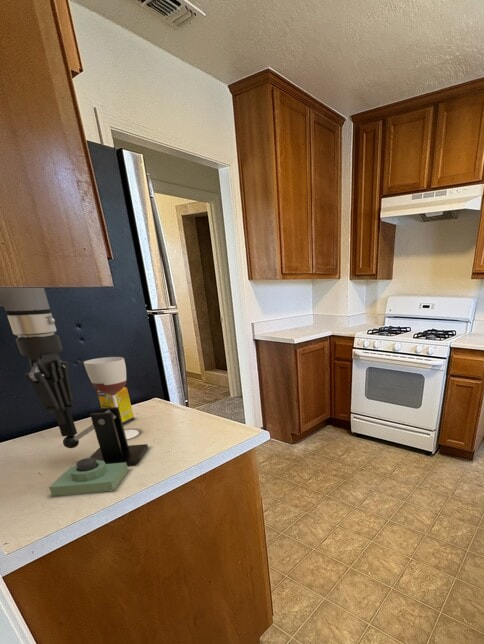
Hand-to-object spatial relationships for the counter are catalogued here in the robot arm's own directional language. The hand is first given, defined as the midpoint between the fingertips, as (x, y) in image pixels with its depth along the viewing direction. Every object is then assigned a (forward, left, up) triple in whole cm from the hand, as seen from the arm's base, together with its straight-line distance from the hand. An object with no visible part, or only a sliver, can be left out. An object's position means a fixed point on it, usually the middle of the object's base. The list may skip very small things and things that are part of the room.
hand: (69, 434), depth 85 cm
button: (+8, -12, -4) cm, 15 cm away
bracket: (+9, 0, -7) cm, 12 cm away
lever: (+5, 0, 0) cm, 5 cm away
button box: (+8, -12, -7) cm, 16 cm away
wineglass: (+5, +16, -7) cm, 18 cm away
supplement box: (0, +28, -7) cm, 29 cm away
